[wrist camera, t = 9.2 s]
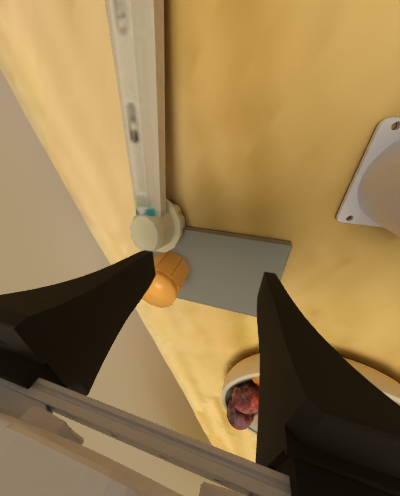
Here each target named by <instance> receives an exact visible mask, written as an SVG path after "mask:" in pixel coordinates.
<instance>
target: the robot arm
mask: <svg viewBox="0 0 400 496" xmlns="http://www.w3.org/2000/svg"><path fill="white" fill-rule="evenodd" d="M395 122H397V124H398V125H397V127H396V128H395V129H394V130H392V129H391V127H392V125H393V124H394V123H395ZM348 216H351V218H350V219H346V218H347V217H348ZM336 220H337V221H339V222H341V223H350V224H358V225H367V226H375V227H384V228H386V229H387V230H389V231H390V232H392V233H393V234H395V235H396V236H398V237H399V238H400V117H391V118H385V119H383V120H382V121H381V122H380V123H379V124H378V125H377V127H376V129H375V131H374V134H373V136H372V138H371V140H370V142H369V145H368V147H367V149H366V151H365V153H364V156H363V158H362V160H361V162H360V164H359V167H358V169H357V171H356V173H355V175H354V178H353V180H352V182H351V184H350V186H349V189H348V191H347V193H346V195H345V197H344V199H343V202H342V204H341V206H340V208H339V210H338V213H337V215H336ZM155 276H156V273H155V265H154V257H153V251H147V250H144V251H141V252H139V253H136V254H134V255H132V256H130V257H128V258H126V259H124V260H121V261H119V262H117V263H115V264H113V265H110V266H108V267H106V268H104V269H101V270H99V271H96V272H94V273H91V274H88V275H85V276H83V277H79V278H76V279H73V280H69V281H66V282H62V283H59V284H55V285H50V286H46V287H42V288H37V289H32V290H28V291H21V292H15V293H10V294H3V295H0V496H183V495H181V494H179V493H177V492H175V491H173V490H171V489H169V488H167V487H165V486H163V485H161V484H160V483H158V482H156V481H154V480H152V479H150V478H148V477H146V476H144V475H142V474H140V473H138V472H136V471H134V470H132V469H130V468H128V467H126V466H124V465H122V464H120V463H118V462H116V461H114V460H112V459H110V458H108V457H106V456H104V455H102V454H99V453H97V452H95V451H93V450H91V449H89V448H86V447H84V446H82V444H83V442H84V439H83V438H82V437H81V436H80V435H78V434H77V433H75V432H74V431H73V430H72V429H71V428H70V427H69V426H68V425H67V423H66V422H65V421H63V420H62V419H60V418H58V417H56V416H55V415H53V412H55V413H58V414H60V415H62V416H64V417H67V418H69V419H71V420H74V421H76V422H78V423H80V424H83V425H85V426H87V427H90V428H92V429H94V430H96V431H99V432H101V433H103V434H106V435H108V436H110V437H113V438H115V439H117V440H119V441H122V442H124V443H126V444H129V445H131V446H133V447H136V448H138V449H140V450H142V451H145V452H147V453H149V454H152V455H154V456H156V457H158V458H161V459H163V460H165V461H168V462H170V463H172V464H174V465H177V466H179V467H181V468H184V469H186V470H188V471H191V472H193V473H195V474H197V475H200V476H202V477H204V478H207V479H209V480H211V481H214V482H216V483H218V484H220V485H223V486H225V487H227V488H230V489H232V490H230V489H226V488H223V487H219V486H216V485H212V484H209V483H206V482H203V483H202V484H201V488H200V494H199V496H244V495H246V496H400V406H399V405H398V404H397V403H396V402H394V401H393V400H392V399H391V398H389V397H388V396H387V395H386V394H385V393H383V392H382V391H381V390H380V389H378V388H377V387H376V386H375V385H373V384H372V383H371V382H370V381H369V380H368V379H366V378H365V377H364V376H363V375H362V374H361V373H360V372H358V371H357V370H356V369H355V368H354V367H353V366H352V365H351V364H349V363H348V362H347V361H346V360H345V359H344V358H343V357H342V356H341V355H340V354H339V353H338V352H337V351H336V350H335V349H334V348H333V347H332V346H331V345H330V344H329V343H328V342H327V341H326V340H325V339H324V338H323V337H322V336H321V335H320V334H319V333H318V332H317V331H316V329H315V328H314V327H313V326H312V325H311V324H310V323H309V322H308V320H307V319H306V318H305V317H304V315H303V314H302V313H301V311H300V310H299V309H298V307H297V306H296V305H295V303H294V302H293V300H292V299H291V297H290V296H289V295H288V293H287V291H286V290H285V288H284V287H283V285H282V284H281V282H280V280H279V279H278V277H277V275H276V274H275V273H270V272H264V274H263V278H262V281H261V285H260V289H259V292H258V296H257V324H258V337H259V350H260V375H259V406H258V429H257V448H256V463H254V462H252V461H249V460H247V459H244V458H242V457H239V456H237V455H234V454H232V453H229V452H227V451H224V450H222V449H219V448H216V447H214V446H211V445H209V444H206V443H204V442H201V441H199V440H196V439H193V438H191V437H188V436H186V435H183V434H181V433H178V432H176V431H173V430H171V429H168V428H166V427H163V426H161V425H158V424H156V423H153V422H151V421H148V420H146V419H143V418H140V417H138V416H135V415H133V414H130V413H128V412H125V411H123V410H120V409H118V408H115V407H113V406H110V405H107V404H105V403H102V402H100V401H97V400H95V399H92V398H90V397H87V395H88V394H89V391H90V389H91V387H92V385H93V383H94V380H95V378H96V376H97V374H98V372H99V370H100V368H101V365H102V363H103V362H104V360H105V358H106V356H107V354H108V352H109V350H110V348H111V346H112V344H113V342H114V340H115V339H116V337H117V335H118V333H119V332H120V330H121V328H122V327H123V325H124V323H125V321H126V320H127V318H128V317H129V315H130V314H131V312H132V311H133V310H134V308H135V307H136V306H137V304H138V303H139V301H140V300H141V299H142V297H143V296H144V294H145V293H146V292H147V290H148V289H149V287H150V285H151V284H152V282H153V280H154V278H155ZM52 411H53V412H52ZM233 490H234V491H233ZM235 491H236V492H235ZM238 492H239V493H238ZM240 493H241V494H240ZM242 494H243V495H242Z"/></svg>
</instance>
